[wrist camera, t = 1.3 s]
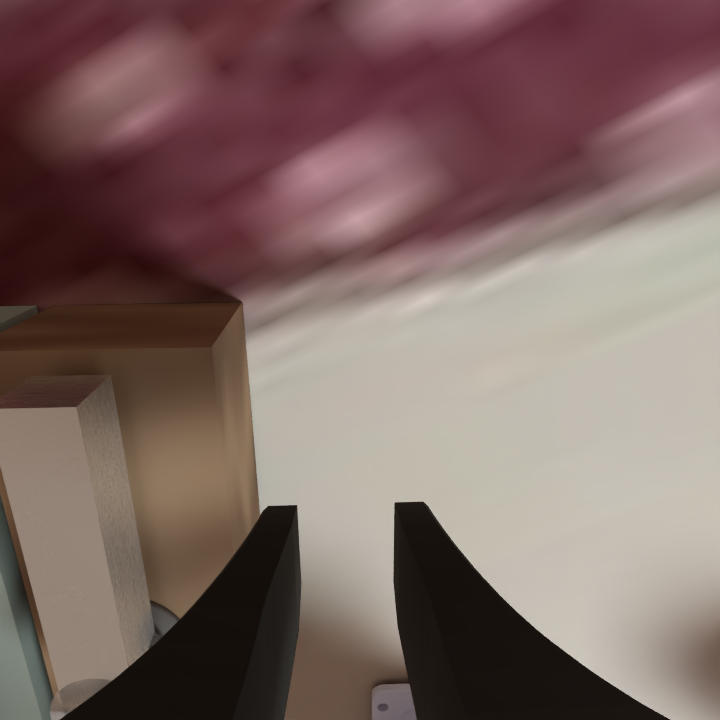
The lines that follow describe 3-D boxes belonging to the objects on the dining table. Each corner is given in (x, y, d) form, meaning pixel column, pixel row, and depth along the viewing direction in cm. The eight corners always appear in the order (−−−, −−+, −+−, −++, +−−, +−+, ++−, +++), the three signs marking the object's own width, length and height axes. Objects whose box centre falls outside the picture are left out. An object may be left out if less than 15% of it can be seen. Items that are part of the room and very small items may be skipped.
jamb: (269, 633, 25) (252, 752, 20) (120, 638, 24) (65, 759, 19) (242, 302, 20) (209, 350, 15) (54, 305, 19) (-44, 354, 14)
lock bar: (177, 687, 18) (151, 770, 16) (89, 690, 18) (50, 774, 16) (126, 374, 14) (82, 418, 12) (16, 376, 14) (-51, 421, 12)
